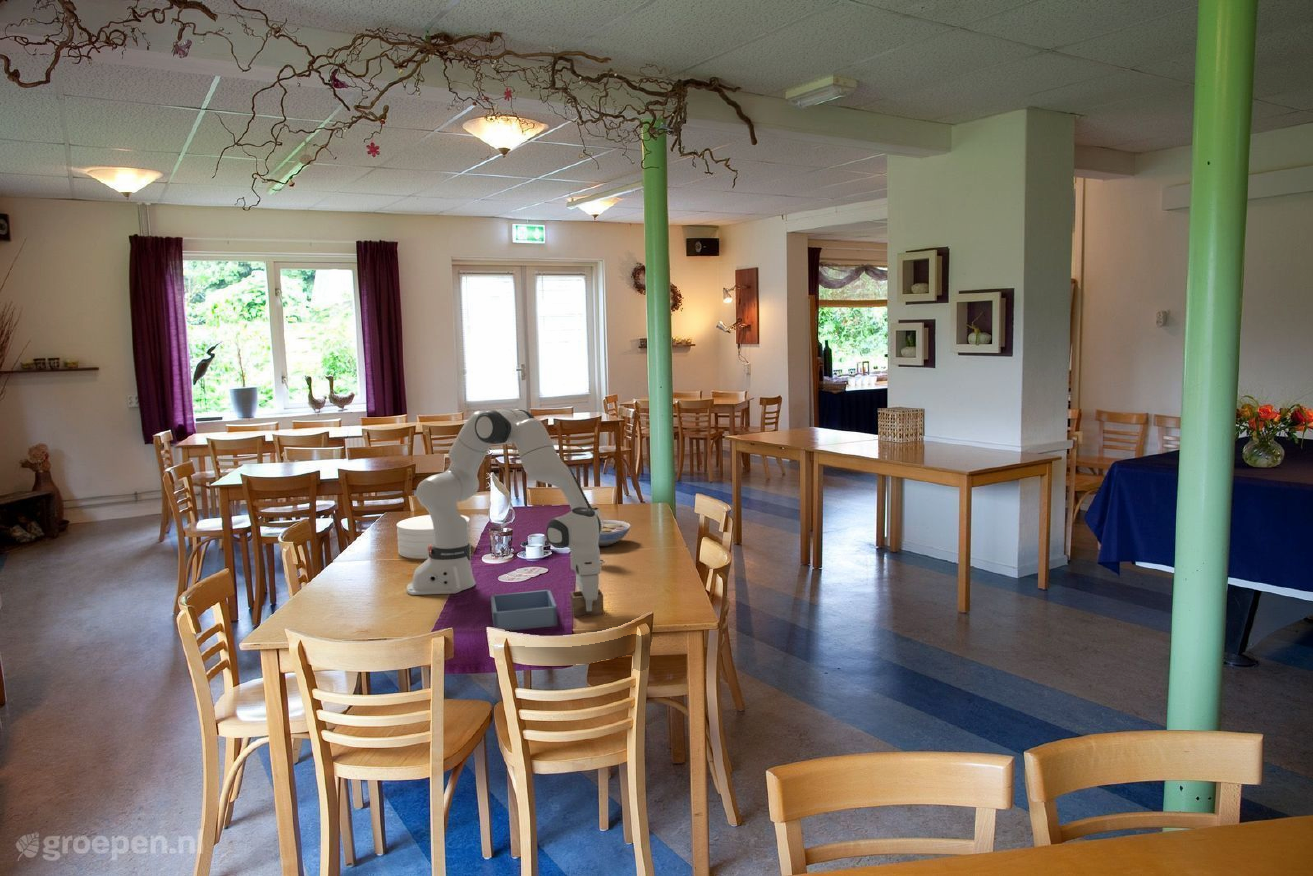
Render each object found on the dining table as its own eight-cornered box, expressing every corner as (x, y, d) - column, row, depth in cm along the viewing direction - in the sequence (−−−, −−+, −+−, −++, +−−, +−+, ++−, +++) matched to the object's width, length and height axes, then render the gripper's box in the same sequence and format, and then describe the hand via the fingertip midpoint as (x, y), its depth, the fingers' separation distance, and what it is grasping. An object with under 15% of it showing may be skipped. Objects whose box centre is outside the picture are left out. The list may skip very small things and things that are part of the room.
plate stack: (479, 541, 358) (478, 513, 357) (457, 559, 330) (456, 529, 329) (414, 541, 361) (412, 514, 359) (386, 559, 333) (385, 529, 332)
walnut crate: (573, 617, 258) (573, 597, 257) (571, 611, 264) (570, 592, 263) (603, 614, 260) (602, 594, 259) (600, 608, 266) (599, 589, 265)
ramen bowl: (629, 551, 334) (629, 530, 333) (570, 552, 334) (569, 532, 333) (632, 536, 359) (632, 516, 358) (577, 537, 359) (576, 518, 358)
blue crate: (494, 632, 247) (493, 613, 246) (491, 612, 265) (490, 595, 264) (557, 625, 251) (556, 607, 250) (550, 607, 269) (549, 589, 268)
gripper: (570, 554, 270) (571, 597, 271) (579, 571, 250) (581, 618, 251) (590, 552, 271) (591, 595, 273) (601, 569, 251) (603, 616, 253)
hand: (587, 606), depth 262 cm, fingers closed on walnut crate, 6 cm apart
